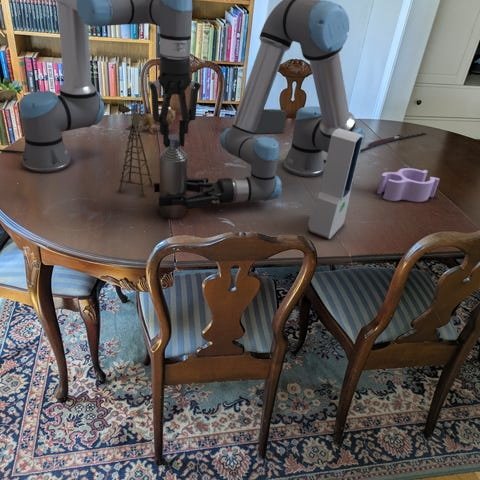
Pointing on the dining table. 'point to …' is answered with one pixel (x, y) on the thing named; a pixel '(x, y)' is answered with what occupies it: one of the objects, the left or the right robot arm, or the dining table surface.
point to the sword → (386, 139)
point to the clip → (407, 185)
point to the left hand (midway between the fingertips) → (173, 144)
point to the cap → (174, 141)
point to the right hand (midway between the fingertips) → (156, 194)
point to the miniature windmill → (134, 129)
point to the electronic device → (336, 183)
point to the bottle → (173, 179)
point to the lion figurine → (150, 121)
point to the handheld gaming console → (271, 121)
